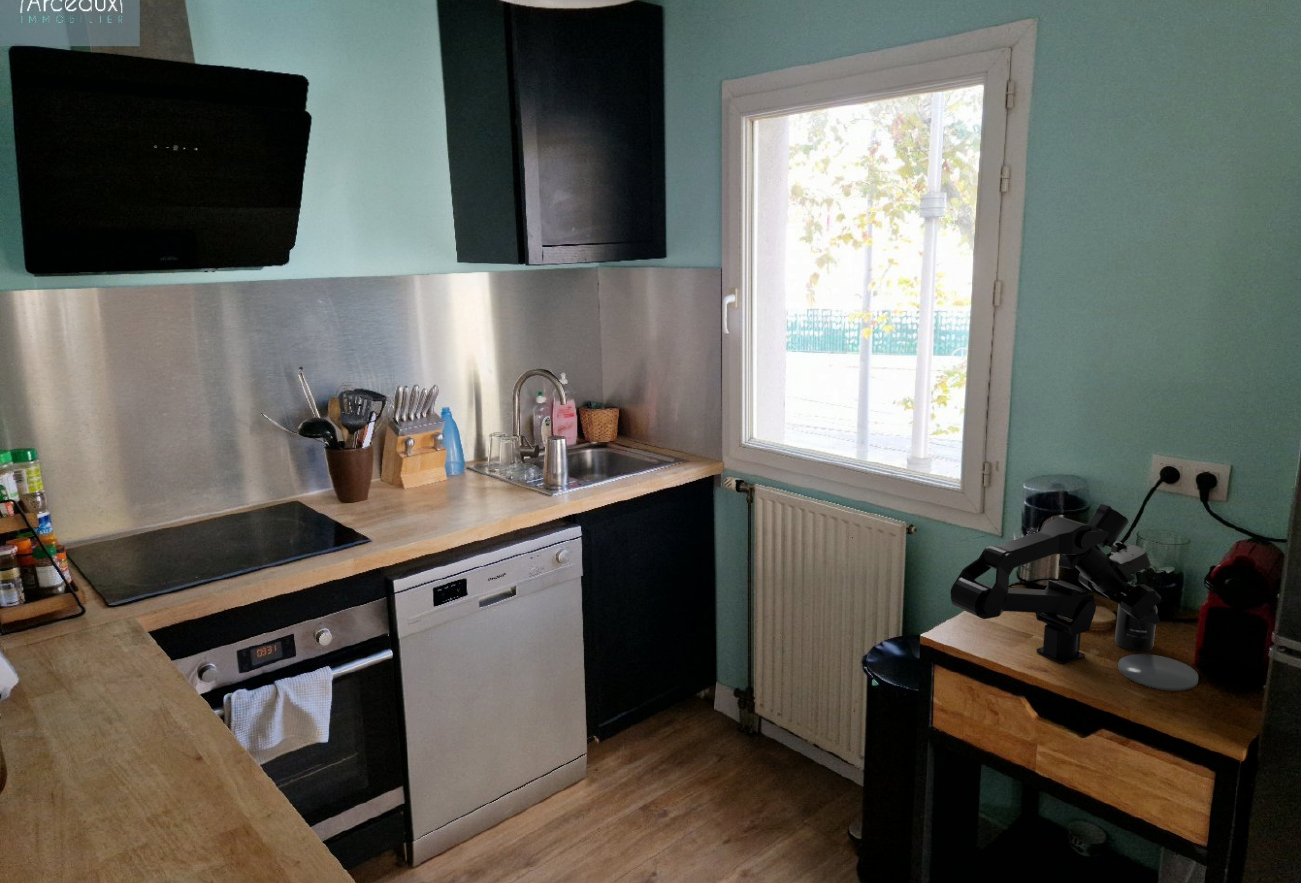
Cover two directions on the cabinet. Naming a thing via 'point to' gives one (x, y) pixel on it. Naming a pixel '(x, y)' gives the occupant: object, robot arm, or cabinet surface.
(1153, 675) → the disc
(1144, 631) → the supplement bottle
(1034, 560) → the robot arm
